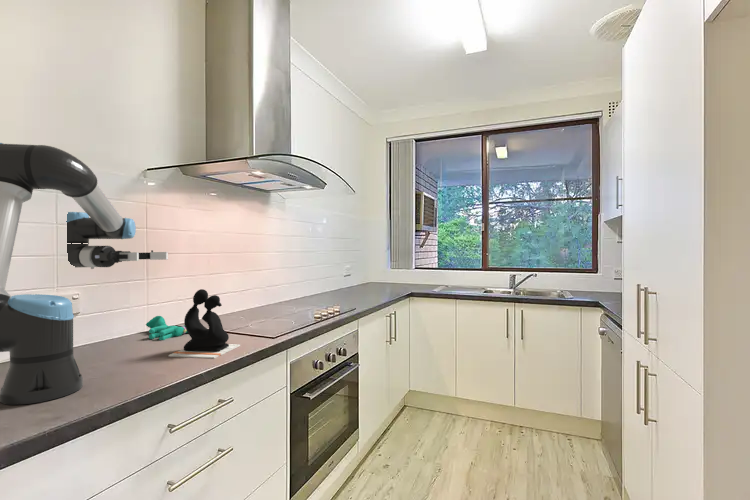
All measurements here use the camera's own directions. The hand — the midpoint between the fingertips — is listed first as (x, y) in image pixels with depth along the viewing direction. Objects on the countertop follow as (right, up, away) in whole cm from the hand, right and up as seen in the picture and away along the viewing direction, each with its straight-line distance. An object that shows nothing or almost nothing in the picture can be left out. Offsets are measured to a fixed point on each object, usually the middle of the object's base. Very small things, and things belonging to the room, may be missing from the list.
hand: (153, 256), depth 135 cm
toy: (-8, -32, +25) cm, 42 cm away
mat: (+19, -32, -2) cm, 37 cm away
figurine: (+19, -31, -1) cm, 37 cm away
